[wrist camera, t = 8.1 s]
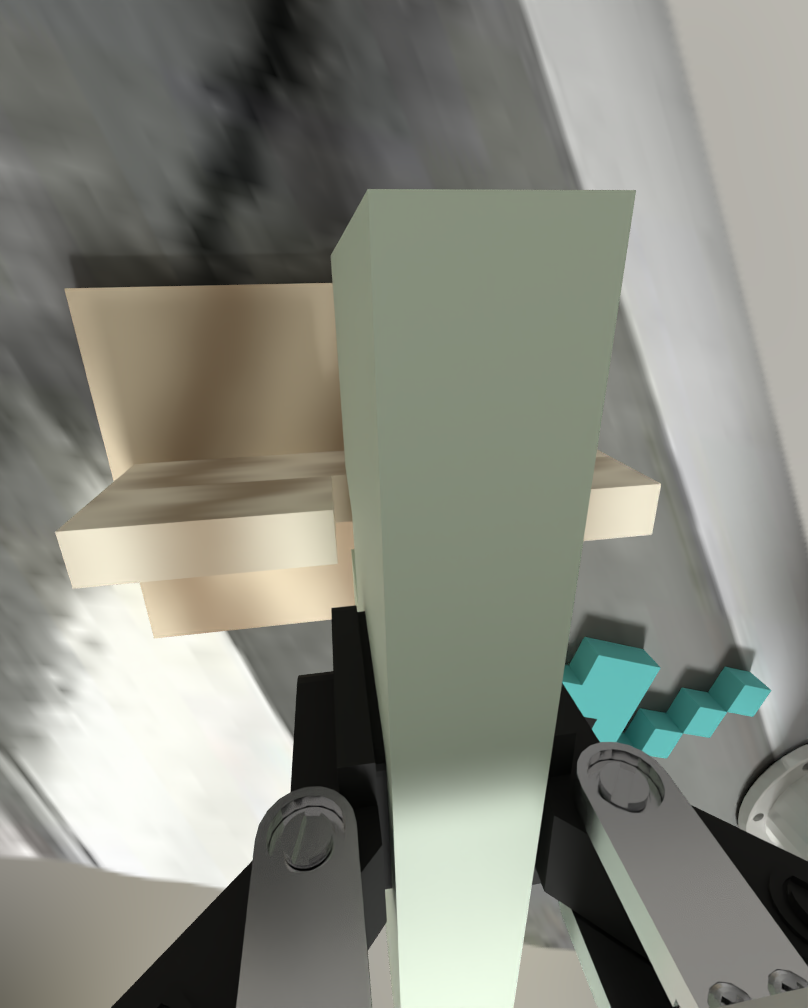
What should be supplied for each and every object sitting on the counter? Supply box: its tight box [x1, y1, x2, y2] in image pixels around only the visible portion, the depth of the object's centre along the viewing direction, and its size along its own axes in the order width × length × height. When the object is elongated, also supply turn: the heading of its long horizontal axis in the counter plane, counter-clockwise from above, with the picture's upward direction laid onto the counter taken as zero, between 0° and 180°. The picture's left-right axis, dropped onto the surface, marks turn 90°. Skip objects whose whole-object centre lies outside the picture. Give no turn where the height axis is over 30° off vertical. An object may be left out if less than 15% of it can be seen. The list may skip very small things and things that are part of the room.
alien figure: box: [562, 637, 771, 758], centre depth 34 cm, size 20×2×20 cm
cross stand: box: [55, 283, 661, 638], centre depth 21 cm, size 22×16×8 cm
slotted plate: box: [331, 189, 636, 1008], centre depth 12 cm, size 16×2×12 cm, turn 1°
